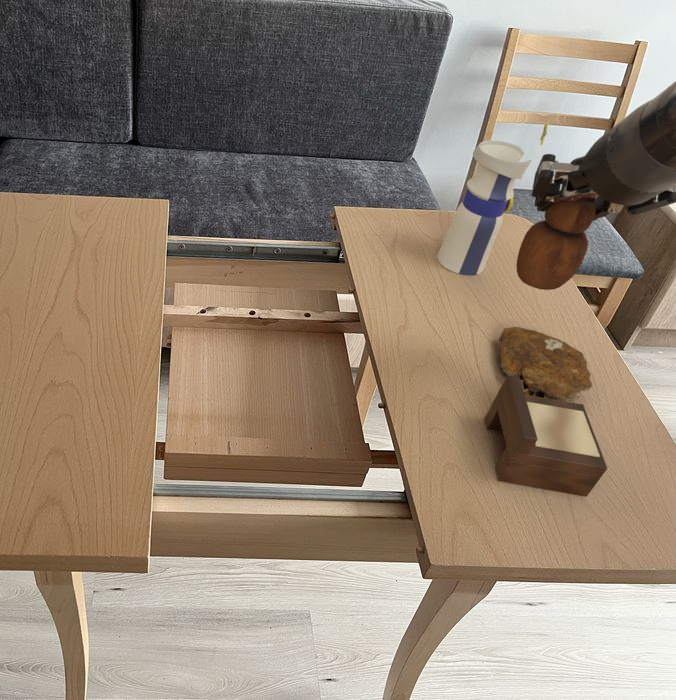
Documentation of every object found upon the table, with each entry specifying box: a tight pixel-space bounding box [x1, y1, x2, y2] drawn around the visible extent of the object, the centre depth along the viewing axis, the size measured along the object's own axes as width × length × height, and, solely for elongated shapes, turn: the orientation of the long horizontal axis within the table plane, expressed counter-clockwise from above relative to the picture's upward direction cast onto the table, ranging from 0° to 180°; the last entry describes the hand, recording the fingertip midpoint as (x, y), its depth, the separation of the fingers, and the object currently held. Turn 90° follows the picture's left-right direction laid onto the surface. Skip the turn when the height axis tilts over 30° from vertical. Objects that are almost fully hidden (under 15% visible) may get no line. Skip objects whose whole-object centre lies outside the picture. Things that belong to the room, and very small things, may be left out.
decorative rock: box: [497, 326, 593, 401], centre depth 92 cm, size 11×4×15 cm
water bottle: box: [436, 120, 550, 276], centre depth 106 cm, size 8×9×25 cm
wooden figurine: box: [515, 197, 597, 291], centre depth 79 cm, size 7×6×15 cm
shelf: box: [484, 374, 608, 497], centre depth 80 cm, size 10×10×8 cm
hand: (566, 207), depth 79 cm, fingers closed on wooden figurine, 5 cm apart
